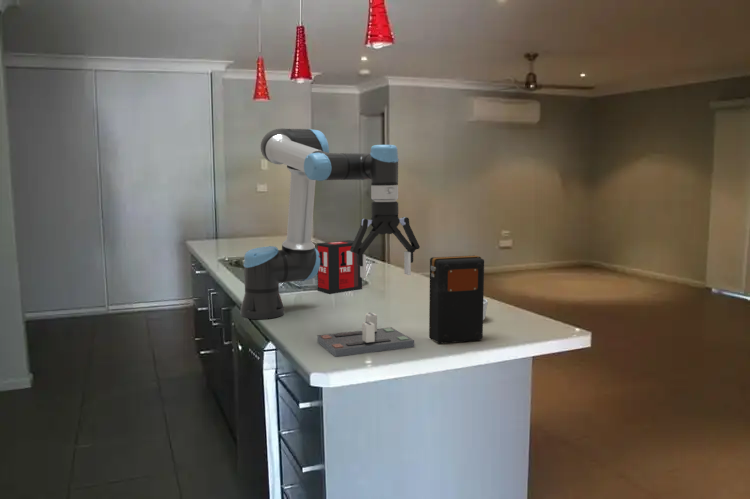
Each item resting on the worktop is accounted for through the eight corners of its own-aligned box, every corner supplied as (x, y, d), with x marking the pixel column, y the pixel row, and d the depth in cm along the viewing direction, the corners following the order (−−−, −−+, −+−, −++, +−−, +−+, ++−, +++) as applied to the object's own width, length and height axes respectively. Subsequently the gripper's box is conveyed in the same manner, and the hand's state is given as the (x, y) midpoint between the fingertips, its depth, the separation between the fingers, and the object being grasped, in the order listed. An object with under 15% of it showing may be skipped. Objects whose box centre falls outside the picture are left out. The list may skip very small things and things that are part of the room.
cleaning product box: (349, 286, 275) (349, 240, 272) (362, 289, 268) (361, 242, 265) (317, 290, 264) (317, 243, 262) (329, 294, 258) (329, 245, 255)
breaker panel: (317, 342, 188) (317, 334, 187) (391, 333, 197) (391, 326, 197) (335, 356, 173) (335, 349, 173) (414, 347, 182) (414, 339, 182)
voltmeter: (473, 334, 196) (475, 254, 193) (486, 341, 188) (488, 258, 185) (426, 338, 192) (427, 256, 188) (437, 345, 184) (438, 260, 180)
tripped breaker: (362, 340, 181) (362, 322, 180) (370, 339, 182) (370, 321, 181) (366, 342, 178) (366, 324, 177) (374, 341, 179) (374, 323, 178)
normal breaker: (365, 329, 192) (365, 313, 191) (373, 329, 193) (373, 312, 192) (369, 332, 189) (369, 315, 188) (377, 331, 190) (376, 314, 189)
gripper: (347, 202, 169) (348, 281, 171) (430, 200, 178) (431, 274, 181) (338, 201, 176) (339, 277, 178) (419, 199, 185) (419, 271, 188)
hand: (385, 276), depth 179 cm, fingers open, 13 cm apart
